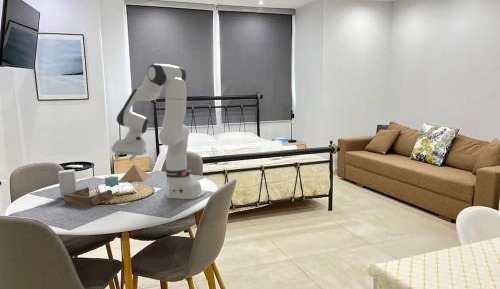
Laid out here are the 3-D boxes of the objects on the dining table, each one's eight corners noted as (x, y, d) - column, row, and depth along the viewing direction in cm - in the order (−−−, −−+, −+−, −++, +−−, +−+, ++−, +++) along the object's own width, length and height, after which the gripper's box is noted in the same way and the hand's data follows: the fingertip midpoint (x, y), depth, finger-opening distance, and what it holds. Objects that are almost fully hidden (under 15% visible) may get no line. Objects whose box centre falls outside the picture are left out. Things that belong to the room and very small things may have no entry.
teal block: (119, 191, 208) (117, 176, 207) (112, 194, 204) (111, 178, 202) (112, 191, 210) (111, 176, 209) (106, 193, 206) (104, 178, 204)
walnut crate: (88, 195, 202) (87, 187, 202) (112, 198, 195) (111, 189, 194) (64, 203, 189) (63, 194, 188) (89, 207, 182) (88, 197, 181)
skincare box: (78, 194, 206) (75, 168, 204) (77, 197, 200) (74, 170, 198) (61, 196, 203) (59, 170, 201) (60, 198, 198) (57, 172, 195)
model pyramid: (117, 182, 231) (116, 167, 229) (127, 176, 248) (126, 162, 246) (143, 182, 230) (141, 167, 229) (151, 176, 247) (150, 161, 246)
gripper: (114, 136, 220) (105, 155, 213) (144, 138, 215) (136, 158, 208) (119, 141, 225) (110, 160, 218) (148, 144, 220) (140, 163, 213)
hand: (123, 159), depth 213 cm, fingers open, 8 cm apart
